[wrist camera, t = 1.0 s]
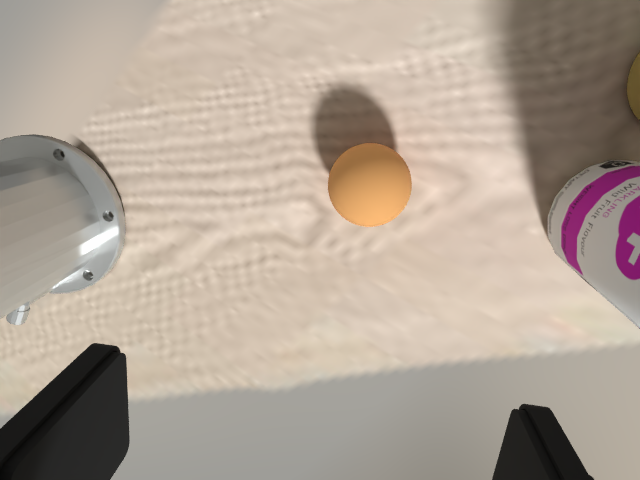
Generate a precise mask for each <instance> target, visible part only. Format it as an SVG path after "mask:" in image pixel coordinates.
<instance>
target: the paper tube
mask: <svg viewBox="0 0 640 480" xmlns="http://www.w3.org/2000/svg"><path fill="white" fill-rule="evenodd" d="M627 96H628V101H629V104H630V107H631V109H632V111H633V113H634V114H635V116H636V117H637V118H638V119H639V120H640V52H639V54H638V55H637V57H636V58H635V60H634V62H633V64H632V67H631V69H630V72H629V76H628V82H627Z"/></svg>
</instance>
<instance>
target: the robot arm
mask: <svg viewBox="0 0 640 480" xmlns="http://www.w3.org/2000/svg"><path fill="white" fill-rule="evenodd" d="M64 154H65V155H64ZM112 213H113V215H114V216H113V215H112ZM125 233H126V228H125V216H124V212H123V208H122V204H121V201H120V198H119V196H118V194H117V192H116V189H115V187H114V185H113V184H112V182H111V181H110V179H109V178H108V176H107V175H106V173H105V172H104V171H103V170H102V169H101V168H100V167H99V166H98V164H97V163H96V162H95V161H94V160H93V159H91V158H90V157H89V156H88V155H86V154H85V153H84V152H82V151H81V150H80V149H78V148H76V147H74V146H72V145H71V144H69V143H67V142H65V141H62V140H59V139H56V138H53V137H49V136H42V135H21V136H15V137H10V138H5V139H3V140H1V141H0V319H1V318H3V317H4V316H6V315H7V317H6V319H7V321H8V322H9V323H10V324H14V325H21V324H23V323H25V322H26V320H27V317H28V314H29V310H30V304H32V303H33V302H35V301H36V300H38V299H40V298H41V297H43V296H44V295H46V294H47V293H53V294H61V293H72V292H76V291H80V290H83V289H85V288H87V287H89V286H91V285H93V284H95V283H96V282H98V281H99V280H100V279H102V278H103V277H104V276H105V275H106V274H107V273H108V272H109V271H110V270H111V269H112V268H113V267H114V265H115V264H116V262H117V261H118V259H119V257H120V254H121V252H122V249H123V246H124V240H125ZM128 418H129V417H128V392H127V367H126V356H125V354H124V353H120V349H119V347H117V346H112V345H105V344H98V343H93V344H92V345H90V346H89V347H88V348H87V349H86V350H85V351H84V352H82V353H81V354H80V355H79V356H78V357H77V358H76V359H75V360H74V361H73V362H72V363H71V364H70V365H68V366H67V367H66V368H65V369H64V370H63V371H62V372H61V373H60V374H59V375H58V376H57V377H56V378H54V379H53V380H52V381H51V382H50V383H49V384H48V385H47V386H46V387H45V388H44V389H43V390H42V391H40V392H39V393H38V394H37V395H36V396H35V397H34V398H33V399H32V400H31V401H30V402H29V403H28V404H27V405H25V406H24V407H23V408H22V409H21V410H20V411H19V412H18V413H17V414H16V415H15V416H14V417H13V418H11V419H10V420H9V421H8V422H7V423H6V424H5V425H4V426H3V427H2V428H1V429H0V480H110V479H111V477H112V476H113V474H114V473H115V471H116V470H117V468H118V467H119V465H120V464H121V462H122V461H123V459H124V457H125V455H126V453H127V451H128V447H129V419H128ZM492 480H594V479H593V478H592V477H591V476H590V475H588V473H587V472H586V469H585V468H584V466H583V464H582V462H581V461H580V459H579V457H578V456H577V454H576V452H575V451H574V449H573V447H572V445H571V444H570V442H569V440H568V438H567V436H566V435H565V433H564V432H563V430H562V428H561V426H560V424H559V423H558V421H557V419H556V417H555V416H554V414H553V412H552V411H551V410H550V408H548V407H542V406H535V405H528V404H522V405H521V406H520V407H519V410H518V409H513V410H512V412H511V414H510V418H509V422H508V425H507V429H506V432H505V436H504V439H503V443H502V447H501V450H500V454H499V457H498V461H497V464H496V468H495V471H494V475H493V479H492Z"/></svg>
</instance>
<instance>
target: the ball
mask: <svg viewBox="0 0 640 480" xmlns="http://www.w3.org/2000/svg"><path fill="white" fill-rule="evenodd" d="M411 186H412V183H411V175H410V171H409V169H408V166H407V164H406V163H405V161H404V160H403V158H402V157H401V156H400V155H399V154H398V153H397V152H395V151H394V150H392V149H391V148H389V147H387V146H384V145H381V144H376V143H364V144H360V145H356V146H354V147H352V148H350V149H348V150H347V151H345V152H344V153H343V154H342V155H341V156H340V157H339V158H338V159H337V160H336V161H335V163H334V165H333V166H332V169H331V171H330V175H329V180H328V191H329V196H330V199H331V202H332V204H333V206H334V207H335V209H336V210H337V212H338V213H339V214H340V215H341V216H342V217H343V218H345V219H346V220H348V221H349V222H351V223H353V224H356V225H360V226H365V227H373V226H379V225H383V224H385V223H388V222H389V221H391V220H393V219H394V218H396V217H397V216H398V215H399V214H400V213H401V212H402V210H403V209H404V208H405V206H406V204H407V202H408V200H409V197H410V194H411Z"/></svg>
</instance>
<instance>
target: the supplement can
mask: <svg viewBox="0 0 640 480" xmlns="http://www.w3.org/2000/svg"><path fill="white" fill-rule="evenodd" d="M548 238H549V240H550V242H551V245H552V247H553V250H554V252H555V254H556V255H558V256H559V257H560V258H561V259H562V260H563V261H564V262H565V263H566V264H567V265H568V266H569V267H570V268H571V269H572V270H574V271H575V272H576V273H577V274H578V275H579V276H580V277H582V278H583V279H584V280H585V281H586V282H587V283H588V284H590V285H591V286H592V287H593V288H594V289H595V290H596V291H598V292H599V293H600V294H601V295H602V296H603V297H604V298H606V299H607V300H608V301H609V302H610V303H611V304H612V305H614V306H615V307H616V308H617V309H618V310H619V311H620V312H622V313H623V314H624V315H625V316H626V317H627V318H628V319H630V320H631V321H632V322H633V323H634V324H635V325H636V326H637V327H639V328H640V162H637V161H625V160H610V161H607V162H603V163H600V164H596V165H593V166H589V167H588V168H586V169H585V170H583V171H582V172H580V173H579V174H577V175H576V176H574V177H573V178H571V179H569V181H568V182H567V183H566V184H565V186H564V187H563V188H562V189H561V190H560V192H559V193H558V194H557V195H556V196H555V199H554V201H553V204H552V207H551V209H550V212H549V214H548Z"/></svg>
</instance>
